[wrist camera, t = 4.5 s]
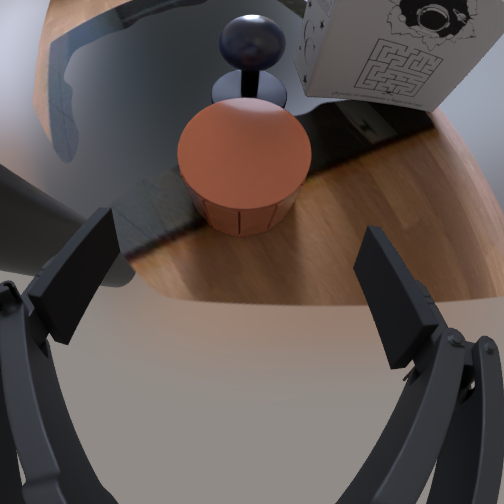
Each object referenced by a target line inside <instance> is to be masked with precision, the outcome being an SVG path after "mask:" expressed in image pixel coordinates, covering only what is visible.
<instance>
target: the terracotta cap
mask: <svg viewBox="0 0 504 504" xmlns="http://www.w3.org/2000/svg"><path fill="white" fill-rule="evenodd" d="M177 153H178V163H179V167H180V173H181V178H182V180H183V182H184V184H185V186H186V189H187V191H188V193H189V195H190V197H191V199H192V202H193V204H194V206H195V208H196V210H197V211H198V212H199V214H200V215H201V216H202V217H203V218H204V219H205V220H206V222H207V223H208V224H209V225H210V226H211V227H212V228H214V229H215V230H218V231H221V232H224V233H227V234H230V235H233V236H236V237H239V234H240V237H245V236H250V235H255V234H261V233H266V231H269V230H270V229H271V228H272V227H274V226H275V225H276V224H277V223H278V222H279V221H281V220H282V219H283V218H284V217H285V216H286V215H287V213H288V212H289V210H290V208H291V206H292V204H293V203H294V201H295V199H296V197H297V196H298V194H299V192H300V190H301V188H302V187H303V185H304V182H305V179H306V175H307V173H308V170H309V168H310V163H311V145H310V142H309V138H308V136H307V134H306V131H305V130H304V128H303V127H302V125H301V124H300V123H299V121H298V120H297V119H296V118H295V117H294V116H293V115H291V114H290V113H289V112H287V111H286V110H285V109H283V108H282V107H280V106H278V105H276V104H273V103H271V102H268V101H265V100H261V99H255V98H233V99H227V100H223V101H220V102H217V103H215V104H212V105H210V106H208V107H207V108H205V109H203V110H202V111H200V112H199V113H198V114H197V115H196V116H195V117H193V118H192V120H191V121H190V122H189V123H188V124H187V126H186V127H185V129H184V130H183V133H182V135H181V137H180V140H179V145H178V151H177Z"/></svg>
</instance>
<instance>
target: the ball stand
mask: <svg viewBox="0 0 504 504" xmlns="http://www.w3.org/2000/svg"><path fill="white" fill-rule="evenodd" d="M233 98H255V99H261V100H265V101H268V102H271V103H273V104H276V105H278V106H280V107H282V108H283V109H284V107H285V105H286V101H287V92H286V89H285V87H284V85H283V84H282V82H281V81H280V80H279V79H277V78H276V77H275V76H273V75H271V74H269V73H267V72H264V71H257V72H248V71H243V70H236V71H233V72H230V73H227V74H225V75H224V76H222V77H221V78H219V79H218V80H217V81H216V83H215V84H214V86H213V87H212V91H211V100H212V104H215V103H217V102H220V101H223V100H227V99H233Z"/></svg>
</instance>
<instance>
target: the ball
mask: <svg viewBox="0 0 504 504" xmlns="http://www.w3.org/2000/svg"><path fill="white" fill-rule="evenodd" d="M285 45H286V43H285V36H284V33H283V31H282V30H281V28H280V27H279V26H278V25H277V24H276V23H275V22H274V21H272V20H270V19H269V18H266V17H263V16H259V15H245V16H241V17H239V18H236V19H234V20H232V21H231V22H230V23H228V24H227V25H226V27H225V28H224V29H223V31H222V33H221V35H220V39H219V48H220V51H221V54H222V56H223V58H224V59H225V60H226V61H227V62H228V63H229V64H230V65H232V66H233V67H235V68H237V69H239V70H243V71H248V72H257V71H262V70H265V69H268V68H270V67H271V66H273V65H274V64H276V63H277V62H278V61H279V59H280V58H281V57H282V55H283V53H284V50H285Z"/></svg>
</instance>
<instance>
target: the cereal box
mask: <svg viewBox="0 0 504 504" xmlns="http://www.w3.org/2000/svg"><path fill="white" fill-rule="evenodd" d="M503 33H504V1H503V0H308V2H307V6H306V10H305V14H304V19H303V23H302V27H301V32H300V36H299V40H298V45H297V49H296V53H295V58H294V64H295V66H296V69H297V72H298V75H299V78H300V81H301V83H302V86H303V89H304V92H305V95H306V96H307V97H323V98H339V99H351V100H361V101H370V102H377V103H385V104H391V105H397V106H403V107H408V108H414V109H419V110H423V111H428V112H433V111H434V110H435V109H436V108H437V107H438V106H439V105H440V104H441V102H443V100H444V99H445V98H446V97H447V96H448V95H449V94H450V93H451V92H452V91H453V90H454V89H455V88H456V86H457V85H458V84H459V83H460V82H461V81H462V80H463V79H464V78H465V77H466V76H467V74H468V73H469V72H470V71H471V70H472V69H473V68H474V67H475V66H476V64H477V63H478V62H479V61H480V60H481V59H482V57H484V55H485V54H486V53H487V52H488V51H489V50H490V49H491V47H492V46H493V45H494V44H495V43H496V41H497V40H498V39H499V38H500V37H501V36H502V35H503Z"/></svg>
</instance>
